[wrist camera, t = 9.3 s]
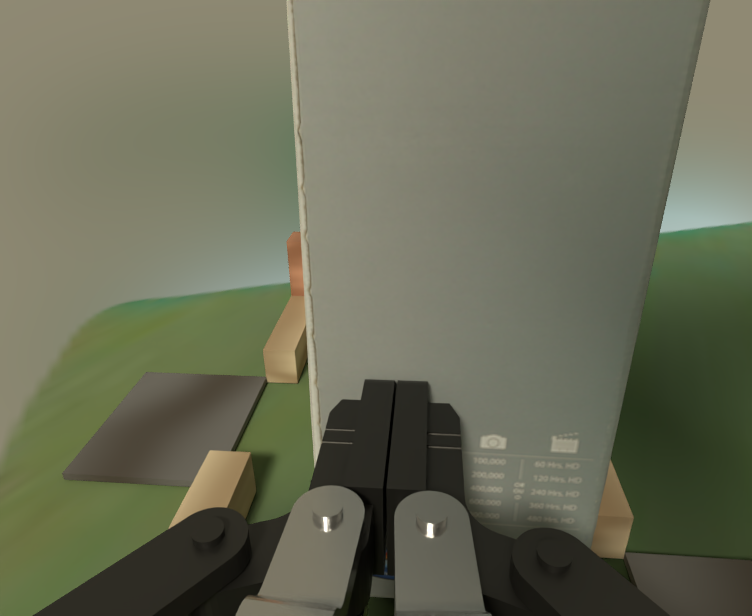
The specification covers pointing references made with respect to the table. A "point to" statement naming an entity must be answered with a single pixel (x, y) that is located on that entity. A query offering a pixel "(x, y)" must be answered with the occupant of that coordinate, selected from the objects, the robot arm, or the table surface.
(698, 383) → the table surface
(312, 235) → the hard drive box
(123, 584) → the robot arm
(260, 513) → the table surface
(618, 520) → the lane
